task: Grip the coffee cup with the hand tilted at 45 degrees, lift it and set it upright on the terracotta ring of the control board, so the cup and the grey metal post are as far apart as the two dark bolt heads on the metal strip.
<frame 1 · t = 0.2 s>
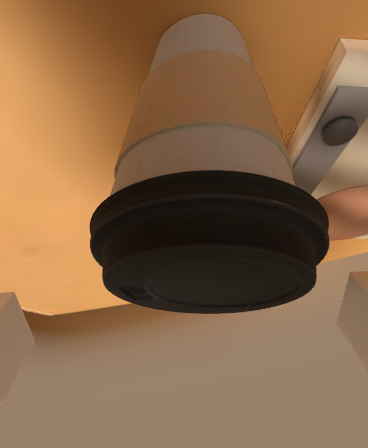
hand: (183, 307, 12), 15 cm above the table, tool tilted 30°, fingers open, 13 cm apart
coffee cup: (202, 61, 19), on the table
control board: (363, 168, 27), on the table
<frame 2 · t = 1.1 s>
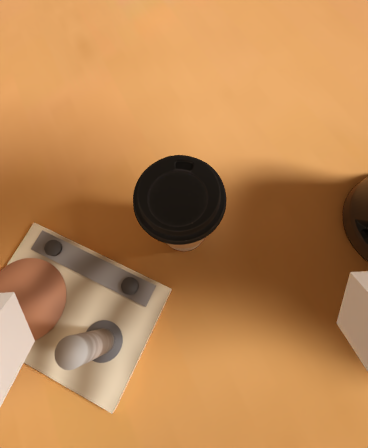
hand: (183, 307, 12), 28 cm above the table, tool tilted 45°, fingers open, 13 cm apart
coffee cup: (183, 232, 42), on the table
control board: (73, 308, 39), on the table
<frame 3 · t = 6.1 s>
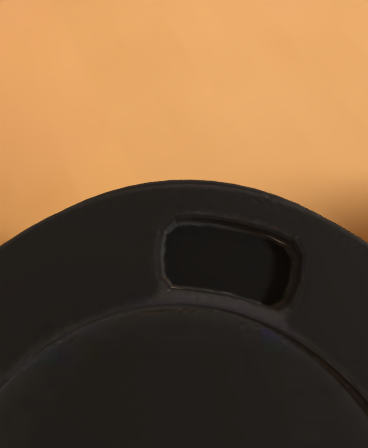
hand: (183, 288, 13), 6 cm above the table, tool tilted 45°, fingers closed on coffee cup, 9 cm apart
coffee cup: (188, 349, 17), on the table, touching gripper
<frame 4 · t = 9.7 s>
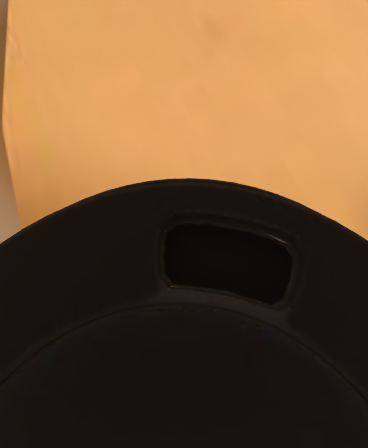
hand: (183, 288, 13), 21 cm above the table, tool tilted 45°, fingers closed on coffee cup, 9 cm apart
coffee cup: (188, 349, 17), point 15 cm above the table, touching gripper
when the fingers open (8 cm above the table, at t = 13.5 s): coffee cup stays where it is, resting on control board.
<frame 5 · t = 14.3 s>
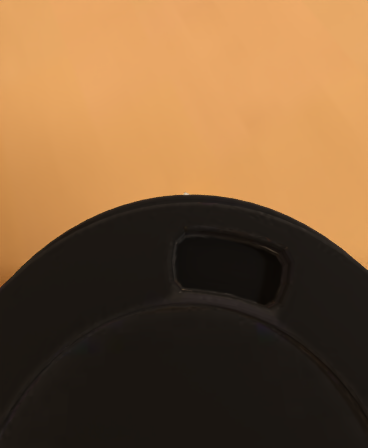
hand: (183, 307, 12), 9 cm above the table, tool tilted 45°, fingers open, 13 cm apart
coffee cup: (188, 348, 18), point 2 cm above the table, touching control board
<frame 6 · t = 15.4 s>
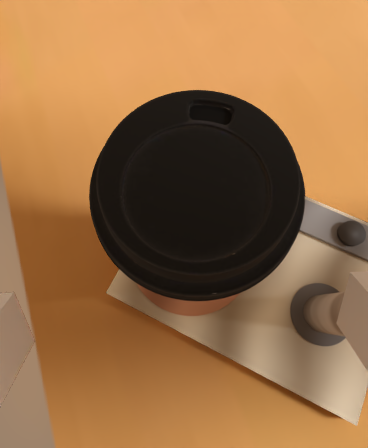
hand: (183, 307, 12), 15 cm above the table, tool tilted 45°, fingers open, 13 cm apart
coffee cup: (191, 252, 26), point 2 cm above the table, touching control board
control board: (256, 268, 27), on the table
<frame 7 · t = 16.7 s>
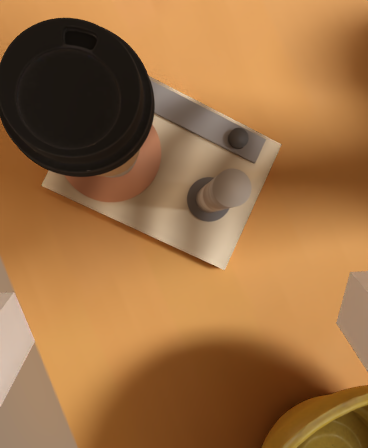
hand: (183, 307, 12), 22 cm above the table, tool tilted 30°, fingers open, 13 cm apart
coffee cup: (111, 152, 31), point 2 cm above the table, touching control board
control board: (165, 166, 33), on the table
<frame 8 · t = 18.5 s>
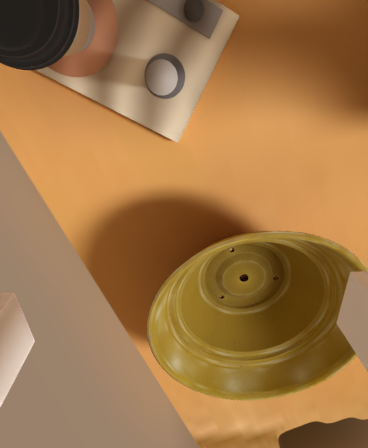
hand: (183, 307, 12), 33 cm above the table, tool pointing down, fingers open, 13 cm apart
planter bowl: (241, 273, 52), on the table
coffee cup: (69, 23, 33), point 2 cm above the table, touching control board
control board: (125, 39, 35), on the table
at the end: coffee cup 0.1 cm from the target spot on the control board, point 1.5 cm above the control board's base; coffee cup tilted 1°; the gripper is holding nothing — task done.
